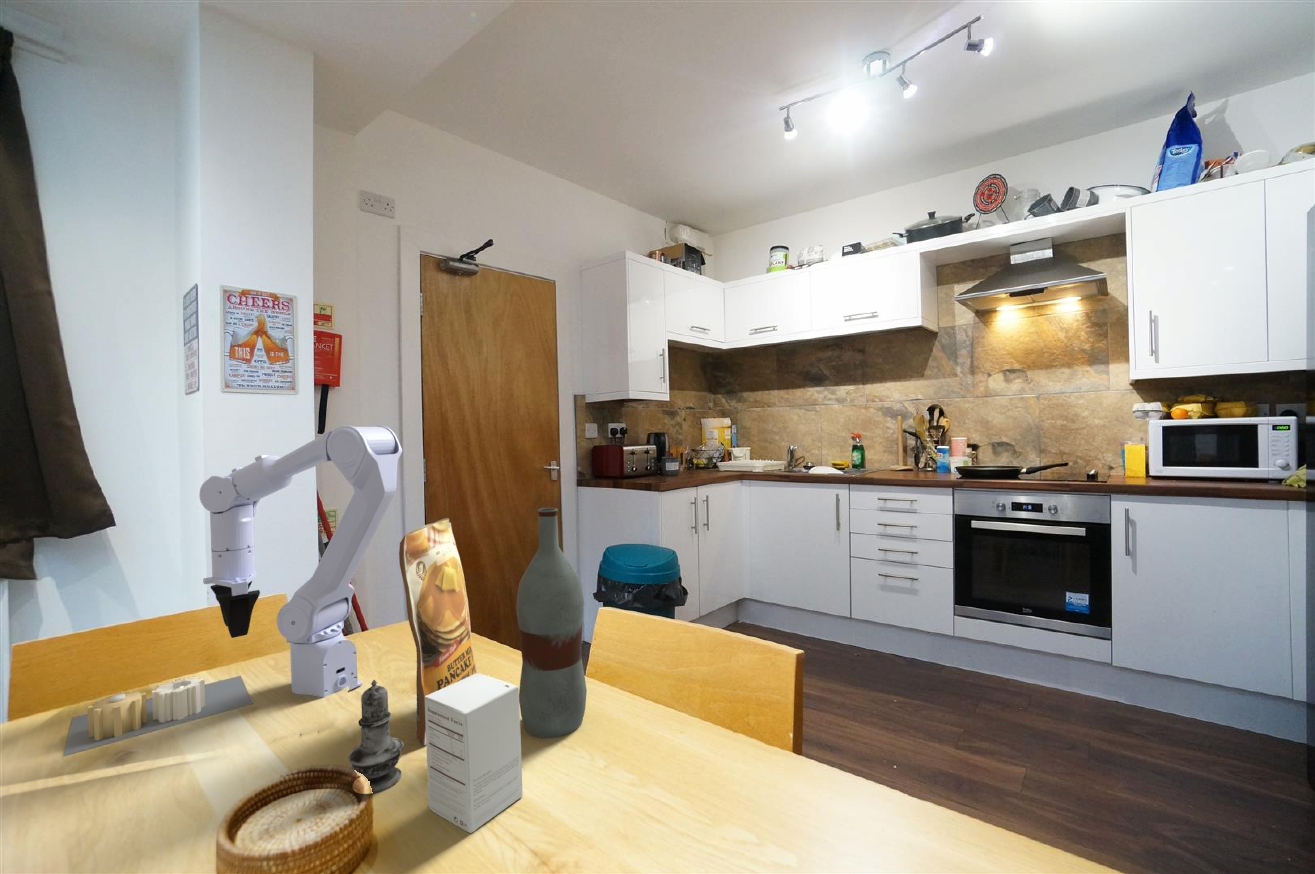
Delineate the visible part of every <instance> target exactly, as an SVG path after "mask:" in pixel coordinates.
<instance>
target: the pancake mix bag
mask: <svg viewBox="0 0 1315 874" xmlns="http://www.w3.org/2000/svg"><path fill="white" fill-rule="evenodd" d="M456 543H457V542H456V539H455V536H454V532H453V527H452V522H450V518H449V517H445V518H442V519H440V520H437V521H436V522H431V523H428V524H425V525H422V526H420V527H418V528H415V529H413V530H411V531H410V532H407V533H405V535H404V536H403V538H401V541H400V542H399V550H398V551H399V552H398V559H399V567H400V568H399V569H400V572H401V577H402V581H403V587H404V593H405V598H406V600H405V601H406V611H407V619H408V623H409V627H410V630H411V633H412V637H413V641H414V644H415V645H414V646H415V649H416V650H415V651H416V681H415V683H416V730H415V731H416V740H417V741H418V742H419V743H420V744H421V745H423V746H425V747H426V722H425V696H426V695H429V694H431V693H433V692H436V691H438V690H440V689H443V688H445V687H447V686H449V685H451V684H454V683H456V682H458V681H460V680H463V679H465V678H467V677H469V676H471V675H473V674H476V673H478V672H477V668H476V662H475V658H474V657H475V655H474V650H473V649H474V647H473V640H472V631H471V630H472V629H471V618H470V609H469V600H468V593H467V587H466V581H465V575H464V569H463V566H462V561H461V557H460V554H459V551H458V548H457V547H458V546H457V544H456Z"/></svg>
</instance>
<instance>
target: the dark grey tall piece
mask: <svg viewBox="0 0 1315 874" xmlns="http://www.w3.org/2000/svg"><path fill="white" fill-rule="evenodd" d="M377 684H378V681H377V680H375V679H373V681H371V683H370V685H371V686H370V687H369V688H367V689H365V690H364V691H363V693H362V694H361V698H360V703H361V707H360V708H361V718H360V719H359V720H358V722H357V723H358V726H359V727H361V729H360V730H361V740H360V744H359V745H358V746H356V747H355V748H353V749H352V751H351V752H350V753H349V755H348V762H349V763H350V764H351V768H352V770H353V769H354V770H356V771H357V772H359V773H361V774H363V775H364V776H365V777H366V778H367V779H368V781H370V786H371V788H372V792H373V794H372V795H374V794H377V793H378V794H379V793H382V792H384V791H386V790H388V789H390V788H392V787H394V786H396V784H397V783H398V782H400V780H401V779H402V776H403V774H402V770H401V769H400V768H398V767H396V766H397V765H398V763H399V760H400V758H401V755H402V750H403V748H404V741H402V740H401V739H400V738H398V737H397V738H396V737H392V735H391V732H390V731H391V730H390V720H391V718H392V717H393V714H392V712H391V711H389V694H388V689H387V688H386V687H384V686H382V685H377ZM354 770H353V771H354Z"/></svg>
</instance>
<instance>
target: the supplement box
mask: <svg viewBox="0 0 1315 874" xmlns="http://www.w3.org/2000/svg"><path fill="white" fill-rule="evenodd" d="M519 689H520V686H518V685H515V684H513V683H511V682H508V681H505V680H501V679H498V678H495V677H493V676H489V675H486V674H483V673H480V672H477V673H476V674H473V675H471V676H469V677H467V678H465V679H463V680H460V681H458V682H456V683H454V684H451V685H449V686H447V687H445V688H443V689H440V690H438V691H436V692H433V693H431V694H429V695H426V696H425V722H426V745H425V747H426V766H427V768H426V770H427V771H426V772H427V796H428V797H427V798H428V799H427V800H428V801H427V802H428V809H429V810H430V811H432V812H433V813H434V814H436V815H438V816H439V817H441V818H443V819H444V820H446V821H448V822H449V823H451V824H452V825H455V826H456V827H458V828H459V829H462V830H463V831H465V832H467V833H469V834H472V833H473V832H475V831H476V830H478V828H480V827H482V826H483V825H484V824H486V823H487V822H489V821H491V820H492V819H493V818H494V817H495V816H497V815H499V814H500V813H501V812H502V811H504V810H505V809H507V808H508V807H509V806H510V805H512V804H514V803H515V802H516V801H518V800H519V799H520V798H522V797H523V795H524V794H523V769H522V767H523V766H522V744H521V743H522V741H521V740H522V739H521V717H520V716H521V710H520V704H519Z"/></svg>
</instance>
